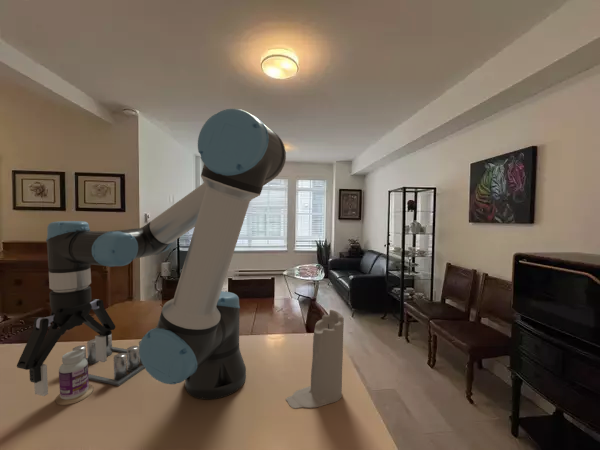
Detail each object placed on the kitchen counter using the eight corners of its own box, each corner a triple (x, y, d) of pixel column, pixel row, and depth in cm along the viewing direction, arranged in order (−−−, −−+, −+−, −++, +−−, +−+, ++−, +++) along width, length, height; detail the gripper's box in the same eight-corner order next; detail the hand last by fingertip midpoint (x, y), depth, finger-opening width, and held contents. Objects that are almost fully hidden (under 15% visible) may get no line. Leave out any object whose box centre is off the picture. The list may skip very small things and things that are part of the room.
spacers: (152, 359, 83) (152, 340, 82) (120, 381, 72) (119, 359, 72) (107, 351, 87) (106, 332, 86) (70, 370, 76) (69, 349, 76)
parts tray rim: (160, 357, 84) (160, 355, 84) (118, 386, 70) (118, 383, 70) (109, 348, 89) (109, 346, 89) (62, 373, 75) (62, 371, 75)
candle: (282, 394, 68) (283, 314, 67) (332, 381, 74) (334, 306, 72) (293, 414, 62) (294, 326, 60) (347, 398, 67) (349, 317, 66)
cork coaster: (100, 388, 69) (100, 386, 69) (70, 407, 63) (70, 406, 63) (78, 383, 71) (78, 381, 71) (47, 401, 65) (47, 400, 64)
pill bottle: (77, 401, 64) (74, 360, 64) (54, 400, 64) (51, 360, 64) (94, 385, 70) (92, 348, 69) (73, 385, 70) (71, 347, 69)
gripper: (107, 274, 78) (109, 348, 80) (-12, 303, 54) (-6, 408, 56) (129, 276, 76) (131, 351, 78) (16, 307, 52) (21, 416, 54)
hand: (74, 375), depth 67 cm, fingers open, 13 cm apart
